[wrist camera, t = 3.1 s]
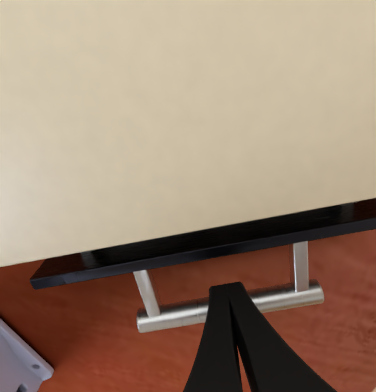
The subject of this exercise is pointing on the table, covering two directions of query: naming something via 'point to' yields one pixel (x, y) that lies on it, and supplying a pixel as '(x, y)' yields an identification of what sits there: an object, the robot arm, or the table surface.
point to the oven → (178, 117)
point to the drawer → (211, 248)
